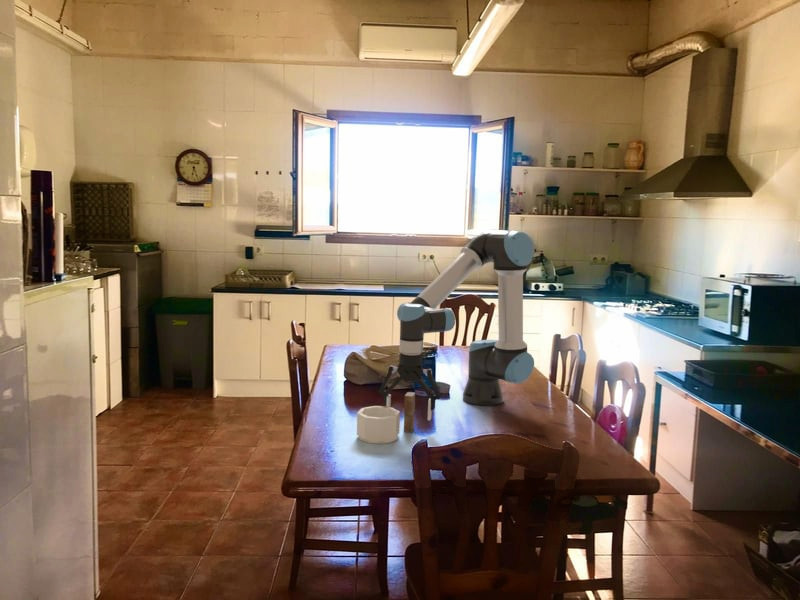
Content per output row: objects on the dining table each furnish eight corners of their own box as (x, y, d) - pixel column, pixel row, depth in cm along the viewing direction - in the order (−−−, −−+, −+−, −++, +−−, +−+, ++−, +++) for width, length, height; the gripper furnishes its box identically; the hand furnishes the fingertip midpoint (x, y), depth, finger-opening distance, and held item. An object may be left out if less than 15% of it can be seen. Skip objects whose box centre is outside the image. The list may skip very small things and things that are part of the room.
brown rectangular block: (414, 428, 212) (415, 392, 211) (411, 432, 208) (412, 396, 206) (406, 427, 213) (407, 392, 211) (403, 432, 208) (404, 395, 207)
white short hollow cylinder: (401, 432, 208) (402, 408, 207) (393, 445, 196) (393, 420, 195) (364, 428, 211) (364, 404, 210) (353, 441, 199) (353, 416, 198)
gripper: (451, 353, 208) (448, 417, 211) (376, 347, 213) (374, 410, 216) (448, 358, 201) (445, 424, 203) (370, 351, 206) (368, 416, 209)
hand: (408, 417), depth 210 cm, fingers open, 13 cm apart
